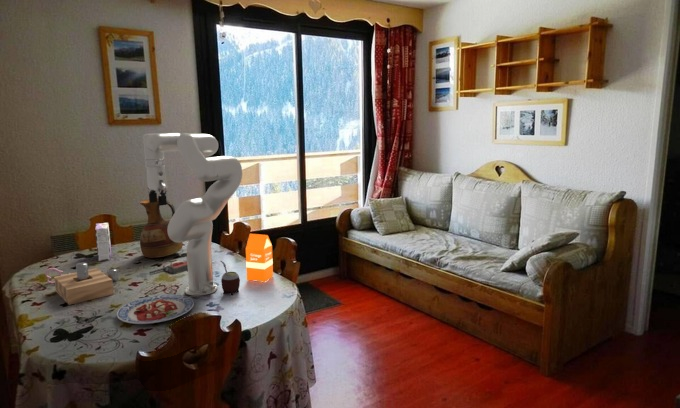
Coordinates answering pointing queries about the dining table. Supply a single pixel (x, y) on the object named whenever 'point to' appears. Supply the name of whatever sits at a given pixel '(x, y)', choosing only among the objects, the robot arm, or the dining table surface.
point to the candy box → (103, 241)
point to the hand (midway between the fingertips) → (158, 203)
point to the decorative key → (55, 270)
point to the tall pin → (82, 271)
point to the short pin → (113, 274)
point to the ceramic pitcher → (157, 233)
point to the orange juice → (259, 258)
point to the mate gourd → (230, 282)
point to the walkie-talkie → (174, 267)
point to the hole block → (83, 286)
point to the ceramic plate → (155, 309)
